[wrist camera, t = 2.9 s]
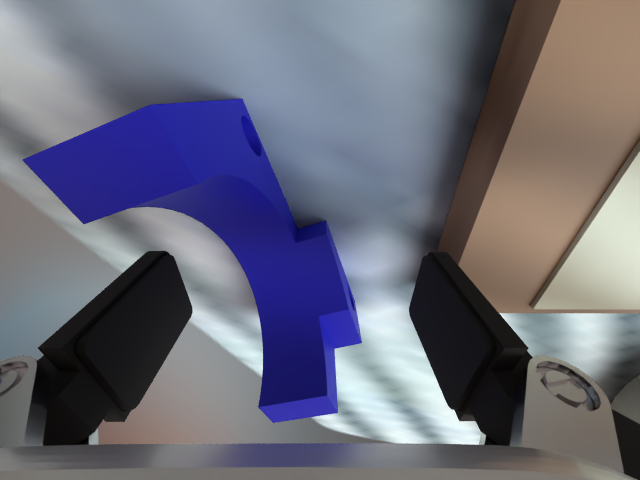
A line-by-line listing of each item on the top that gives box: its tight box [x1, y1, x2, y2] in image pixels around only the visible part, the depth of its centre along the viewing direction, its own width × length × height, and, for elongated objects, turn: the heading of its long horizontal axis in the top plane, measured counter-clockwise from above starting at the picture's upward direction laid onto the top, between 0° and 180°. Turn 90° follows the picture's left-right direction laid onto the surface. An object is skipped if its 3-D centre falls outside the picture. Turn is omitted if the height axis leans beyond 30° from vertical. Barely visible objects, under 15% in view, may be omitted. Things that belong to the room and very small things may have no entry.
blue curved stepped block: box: [23, 99, 362, 423], centre depth 10 cm, size 12×4×6 cm, turn 18°
